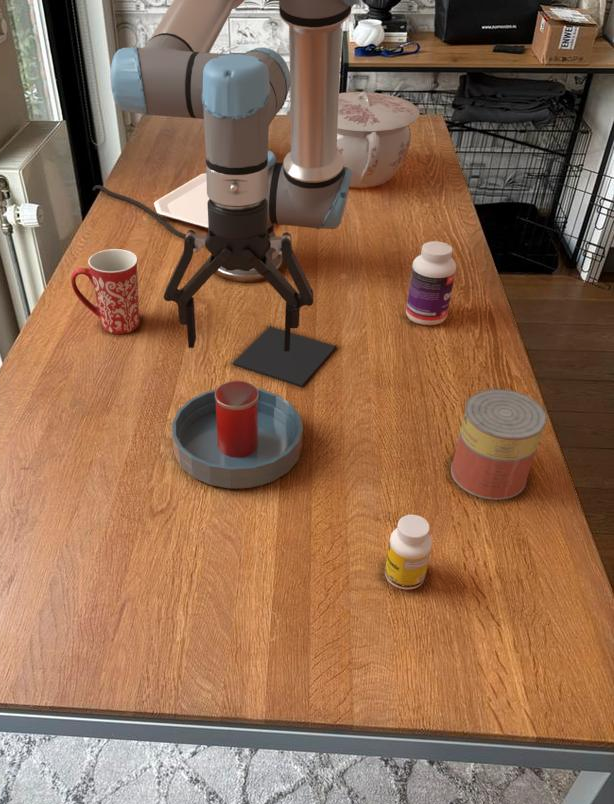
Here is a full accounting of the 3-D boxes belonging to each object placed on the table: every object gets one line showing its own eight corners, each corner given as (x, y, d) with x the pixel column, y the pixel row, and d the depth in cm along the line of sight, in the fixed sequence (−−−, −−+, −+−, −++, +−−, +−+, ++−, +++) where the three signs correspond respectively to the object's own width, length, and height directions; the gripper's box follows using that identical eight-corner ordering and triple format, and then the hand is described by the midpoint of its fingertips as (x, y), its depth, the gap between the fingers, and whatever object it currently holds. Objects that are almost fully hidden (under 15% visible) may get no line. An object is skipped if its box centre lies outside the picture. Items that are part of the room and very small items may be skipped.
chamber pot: (339, 150, 216) (345, 68, 202) (429, 172, 204) (442, 88, 190) (282, 183, 199) (284, 97, 185) (377, 210, 188) (387, 120, 173)
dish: (149, 442, 125) (146, 421, 122) (245, 393, 134) (244, 372, 131) (228, 510, 114) (228, 488, 111) (327, 451, 123) (329, 429, 120)
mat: (232, 364, 141) (232, 362, 140) (269, 328, 150) (269, 326, 149) (302, 387, 136) (302, 385, 135) (335, 347, 144) (336, 346, 144)
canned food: (477, 440, 125) (493, 379, 117) (540, 474, 119) (561, 412, 111) (436, 474, 119) (449, 412, 111) (499, 511, 113) (519, 448, 105)
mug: (146, 311, 154) (139, 247, 145) (143, 336, 148) (135, 271, 138) (82, 312, 154) (71, 248, 145) (76, 337, 147) (64, 272, 138)
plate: (245, 246, 174) (245, 236, 173) (143, 217, 185) (142, 208, 184) (307, 200, 192) (308, 191, 190) (211, 175, 203) (210, 167, 202)
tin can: (208, 442, 124) (205, 392, 117) (240, 425, 127) (239, 375, 120) (234, 463, 120) (233, 412, 113) (266, 445, 123) (267, 394, 116)
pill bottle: (446, 330, 149) (459, 260, 139) (403, 325, 150) (414, 256, 140) (447, 308, 155) (460, 240, 145) (406, 304, 156) (416, 236, 146)
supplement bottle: (380, 561, 106) (388, 511, 100) (419, 558, 107) (430, 508, 100) (388, 592, 102) (397, 542, 96) (429, 589, 103) (441, 539, 96)
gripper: (132, 208, 94) (148, 355, 109) (338, 214, 93) (327, 362, 108) (143, 183, 100) (157, 327, 114) (337, 188, 99) (327, 333, 113)
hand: (239, 344), depth 111 cm, fingers open, 13 cm apart
